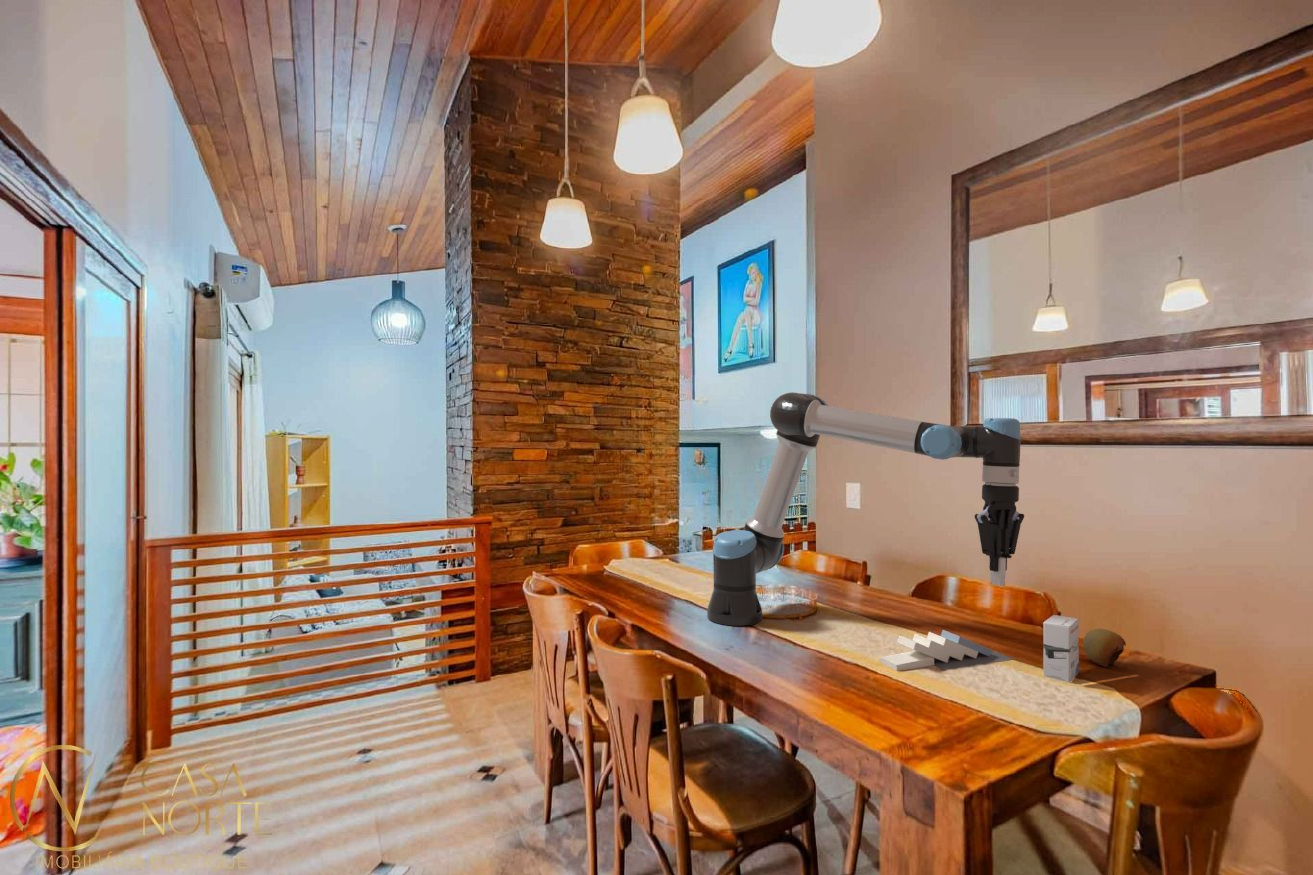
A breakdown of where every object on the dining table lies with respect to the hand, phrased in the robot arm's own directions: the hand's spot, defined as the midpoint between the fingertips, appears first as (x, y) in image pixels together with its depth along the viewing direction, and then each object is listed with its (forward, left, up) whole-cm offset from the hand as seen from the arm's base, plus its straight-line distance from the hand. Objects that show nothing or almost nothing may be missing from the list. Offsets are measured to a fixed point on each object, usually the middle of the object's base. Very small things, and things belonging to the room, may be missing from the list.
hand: (997, 584), depth 143 cm
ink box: (+15, 0, -16) cm, 22 cm away
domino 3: (+1, -13, -14) cm, 20 cm away
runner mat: (0, -12, -16) cm, 19 cm away
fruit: (+14, +14, -16) cm, 26 cm away
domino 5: (0, -5, -14) cm, 15 cm away
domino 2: (0, -17, -14) cm, 23 cm away
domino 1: (0, -21, -14) cm, 26 cm away
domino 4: (+1, -9, -14) cm, 17 cm away
